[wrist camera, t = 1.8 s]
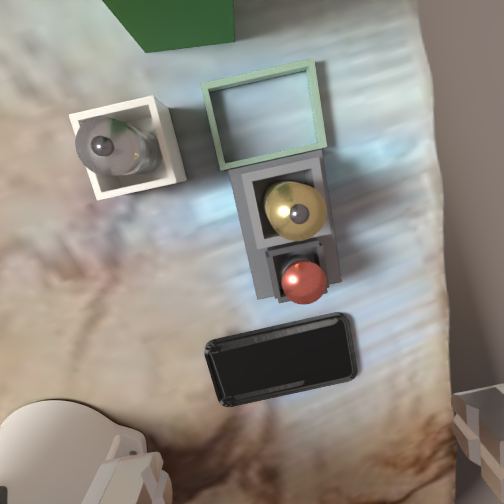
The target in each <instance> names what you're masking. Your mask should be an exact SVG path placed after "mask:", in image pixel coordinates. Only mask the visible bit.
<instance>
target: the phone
mask: <svg viewBox="0 0 504 504" xmlns="http://www.w3.org/2000/svg"><path fill="white" fill-rule="evenodd" d="M204 353H205V358H206V361H207V365H208V368H209V371H210V375H211V378H212V381H213V385H214V388H215V392H216V395H217V398H218V401H219V403H220V404H221V405H223V406H225V407H233V406H238V405H242V404H247V403H251V402H256V401H261V400H265V399H270V398H274V397H279V396H284V395H288V394H293V393H298V392H302V391H307V390H311V389H316V388H321V387H325V386H330V385H334V384H339V383H344V382H348V381H351V380H353V379H354V378H355V377H356V375H357V365H356V359H355V353H354V347H353V341H352V335H351V329H350V324H349V321H348V319H347V318H346V316H345V315H344V314H342V313H339V312H335V313H330V314H325V315H321V316H317V317H312V318H308V319H303V320H299V321H294V322H290V323H285V324H281V325H276V326H272V327H267V328H263V329H258V330H254V331H249V332H245V333H240V334H236V335H231V336H227V337H222V338H218V339H214V340H211V341H209V342H208V343H207V345H206V347H205V352H204Z"/></svg>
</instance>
